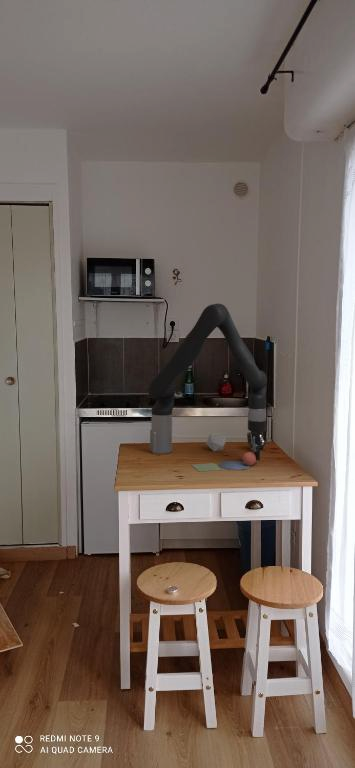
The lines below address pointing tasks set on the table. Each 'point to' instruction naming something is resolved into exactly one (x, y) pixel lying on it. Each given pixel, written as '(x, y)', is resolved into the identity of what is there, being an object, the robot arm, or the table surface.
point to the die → (216, 441)
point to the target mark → (233, 465)
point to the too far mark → (206, 467)
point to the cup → (248, 440)
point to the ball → (249, 458)
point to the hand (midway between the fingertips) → (256, 459)
